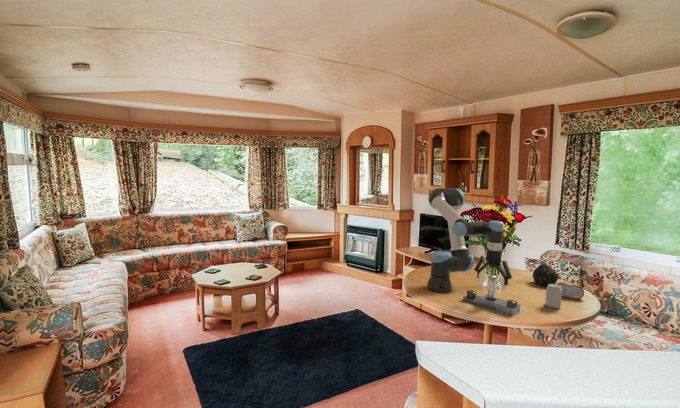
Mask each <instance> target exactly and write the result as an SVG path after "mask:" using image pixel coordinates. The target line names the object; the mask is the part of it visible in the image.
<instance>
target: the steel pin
mask: <svg viewBox="0 0 680 408" xmlns="http://www.w3.org/2000/svg"><path fill="white" fill-rule="evenodd" d="M487 278H488V285H487V294H486V295H487V300H490V301H494V297H496V280H497V279H498V277H497V275H494V274H488V275H487Z"/></svg>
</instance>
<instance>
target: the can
mask: <svg viewBox="0 0 680 408" xmlns="http://www.w3.org/2000/svg"><path fill="white" fill-rule="evenodd" d="M556 284H557V283H556ZM556 284H548V286H546V288H545V289H546V291H545V303H544V304H545V305H546V306H547V307H548V308H551V309H559V308H560V307H561V306H562V289H561V286H559V285H556Z"/></svg>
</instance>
